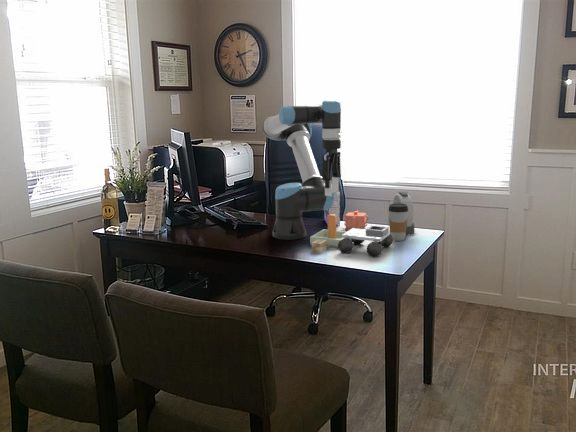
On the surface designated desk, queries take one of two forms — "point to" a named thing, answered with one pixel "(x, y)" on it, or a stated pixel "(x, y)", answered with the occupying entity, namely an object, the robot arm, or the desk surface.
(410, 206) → the grey rounded piece
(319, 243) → the chock
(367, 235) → the trolley
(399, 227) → the coffee cup
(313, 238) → the tray
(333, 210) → the candy box
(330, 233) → the pin
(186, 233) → the desk surface
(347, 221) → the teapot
